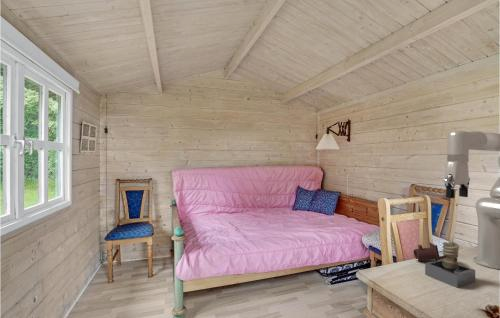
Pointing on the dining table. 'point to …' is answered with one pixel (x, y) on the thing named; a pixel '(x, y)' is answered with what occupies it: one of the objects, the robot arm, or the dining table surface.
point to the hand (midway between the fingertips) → (456, 197)
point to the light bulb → (450, 256)
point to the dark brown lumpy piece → (428, 253)
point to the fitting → (450, 274)
